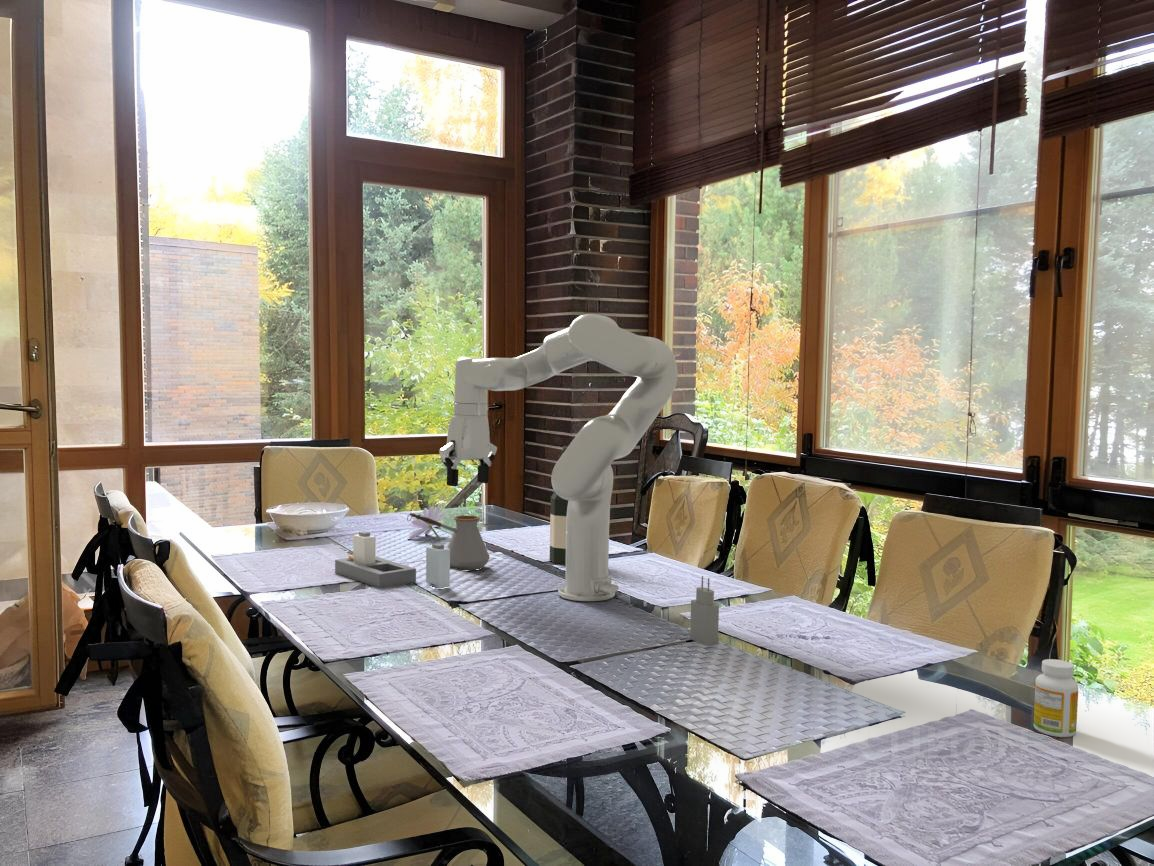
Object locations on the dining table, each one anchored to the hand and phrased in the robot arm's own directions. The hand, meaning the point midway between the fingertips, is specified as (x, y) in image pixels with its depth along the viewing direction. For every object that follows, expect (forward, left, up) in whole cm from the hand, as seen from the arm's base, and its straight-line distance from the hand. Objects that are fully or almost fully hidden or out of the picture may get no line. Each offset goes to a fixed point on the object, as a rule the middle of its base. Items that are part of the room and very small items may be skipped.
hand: (467, 484), depth 214 cm
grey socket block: (+13, +17, -23) cm, 31 cm away
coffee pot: (+12, -3, -23) cm, 26 cm away
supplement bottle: (-127, -9, -23) cm, 129 cm away
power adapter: (-67, -5, -23) cm, 71 cm away
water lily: (+53, -24, -23) cm, 63 cm away
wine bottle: (+2, -33, -23) cm, 41 cm away
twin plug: (+18, +17, -22) cm, 33 cm away
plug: (-1, +9, -23) cm, 25 cm away
